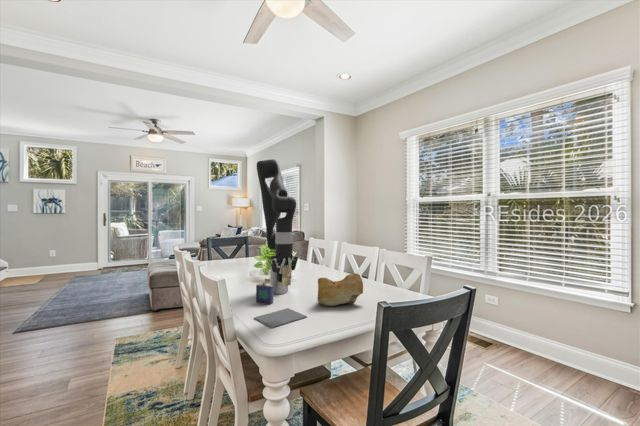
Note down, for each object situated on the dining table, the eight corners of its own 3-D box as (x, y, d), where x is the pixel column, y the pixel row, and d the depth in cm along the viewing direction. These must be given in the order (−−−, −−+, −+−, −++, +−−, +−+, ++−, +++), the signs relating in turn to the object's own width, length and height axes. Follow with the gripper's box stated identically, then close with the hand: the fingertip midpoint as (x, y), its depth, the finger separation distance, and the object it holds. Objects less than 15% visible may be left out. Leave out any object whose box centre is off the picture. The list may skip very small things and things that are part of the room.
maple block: (285, 283, 138) (285, 263, 138) (290, 285, 135) (290, 264, 135) (277, 284, 135) (277, 264, 135) (283, 286, 132) (283, 265, 132)
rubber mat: (287, 309, 145) (287, 308, 145) (306, 317, 135) (306, 316, 135) (254, 318, 133) (254, 317, 133) (271, 328, 123) (271, 326, 123)
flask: (274, 302, 155) (273, 281, 155) (271, 304, 152) (271, 283, 152) (257, 301, 158) (257, 280, 157) (254, 302, 155) (254, 281, 155)
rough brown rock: (357, 297, 166) (355, 270, 167) (365, 305, 150) (364, 274, 150) (314, 301, 163) (313, 272, 164) (318, 308, 146) (317, 277, 147)
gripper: (292, 240, 142) (292, 277, 142) (265, 242, 133) (265, 282, 133) (302, 241, 136) (302, 280, 137) (275, 244, 127) (275, 285, 127)
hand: (284, 280), depth 135 cm, fingers closed on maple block, 4 cm apart
